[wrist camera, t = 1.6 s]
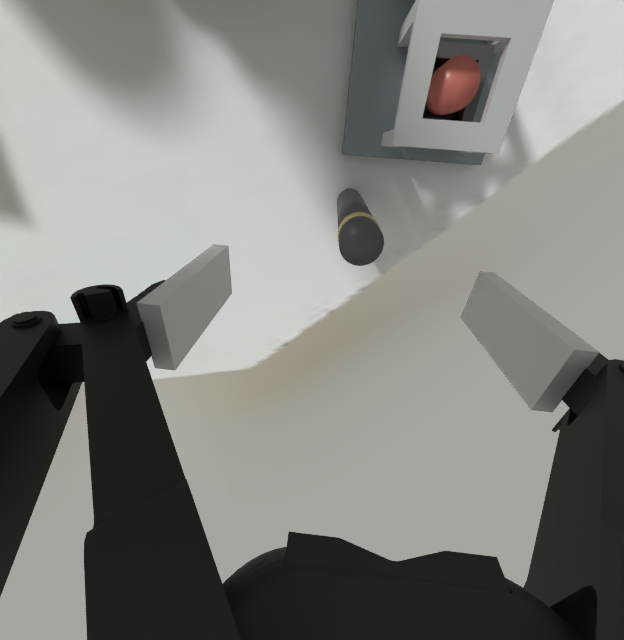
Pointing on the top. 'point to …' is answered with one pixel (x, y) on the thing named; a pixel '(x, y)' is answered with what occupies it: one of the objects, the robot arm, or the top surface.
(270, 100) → the top surface
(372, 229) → the stylus
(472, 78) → the button
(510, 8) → the grey framed button station
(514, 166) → the top surface
